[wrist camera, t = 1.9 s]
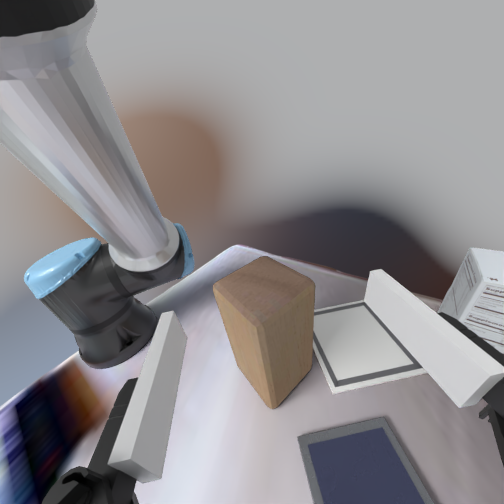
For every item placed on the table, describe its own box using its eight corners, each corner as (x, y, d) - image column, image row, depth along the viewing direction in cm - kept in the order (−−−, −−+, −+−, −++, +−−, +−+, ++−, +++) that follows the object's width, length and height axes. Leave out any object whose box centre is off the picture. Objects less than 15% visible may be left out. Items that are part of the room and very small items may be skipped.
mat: (298, 314, 43) (298, 312, 43) (365, 300, 44) (365, 299, 44) (332, 394, 30) (333, 393, 29) (430, 372, 30) (431, 371, 30)
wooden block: (274, 332, 40) (264, 251, 30) (314, 368, 33) (318, 279, 23) (235, 364, 36) (208, 283, 25) (272, 415, 28) (255, 329, 18)
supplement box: (522, 393, 27) (626, 310, 18) (434, 359, 32) (482, 281, 23) (503, 339, 33) (574, 258, 24) (432, 318, 38) (469, 245, 29)
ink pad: (297, 439, 26) (297, 436, 25) (382, 419, 26) (384, 415, 26) (346, 636, 16) (348, 639, 15) (484, 598, 16) (492, 599, 15)
